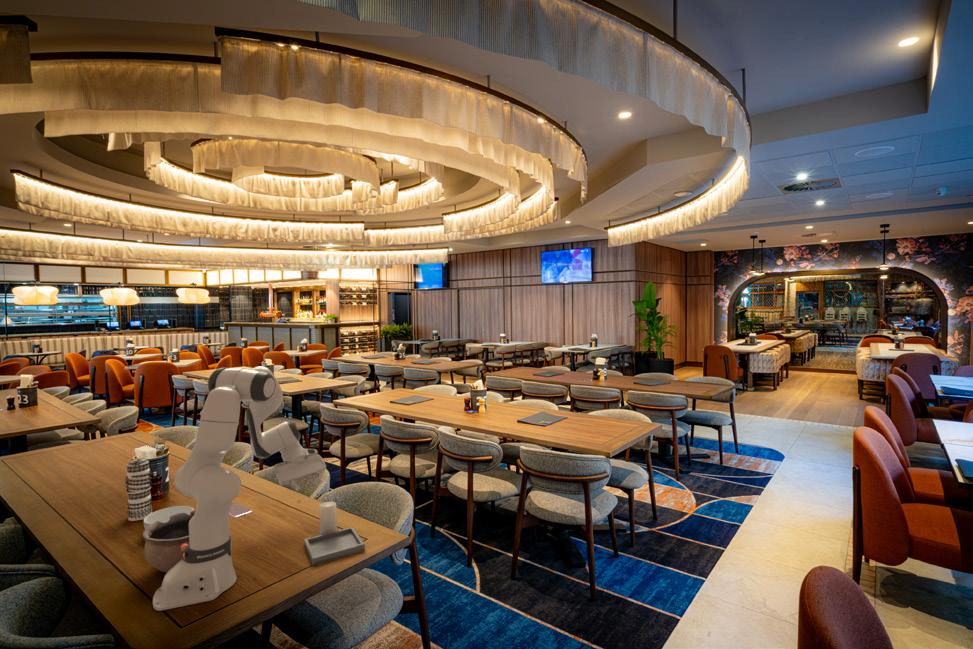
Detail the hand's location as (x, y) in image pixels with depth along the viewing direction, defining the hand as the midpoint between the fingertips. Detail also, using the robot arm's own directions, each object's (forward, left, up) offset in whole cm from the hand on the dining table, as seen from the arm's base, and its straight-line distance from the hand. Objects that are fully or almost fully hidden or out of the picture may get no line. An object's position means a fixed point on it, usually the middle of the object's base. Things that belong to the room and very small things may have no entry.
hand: (309, 486), depth 190 cm
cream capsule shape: (+5, -11, -16) cm, 20 cm away
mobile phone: (-25, +33, -16) cm, 44 cm away
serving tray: (+4, -25, -16) cm, 30 cm away
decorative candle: (-61, +50, -16) cm, 81 cm away
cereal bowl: (-49, +26, -16) cm, 58 cm away
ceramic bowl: (-43, -8, -16) cm, 47 cm away
